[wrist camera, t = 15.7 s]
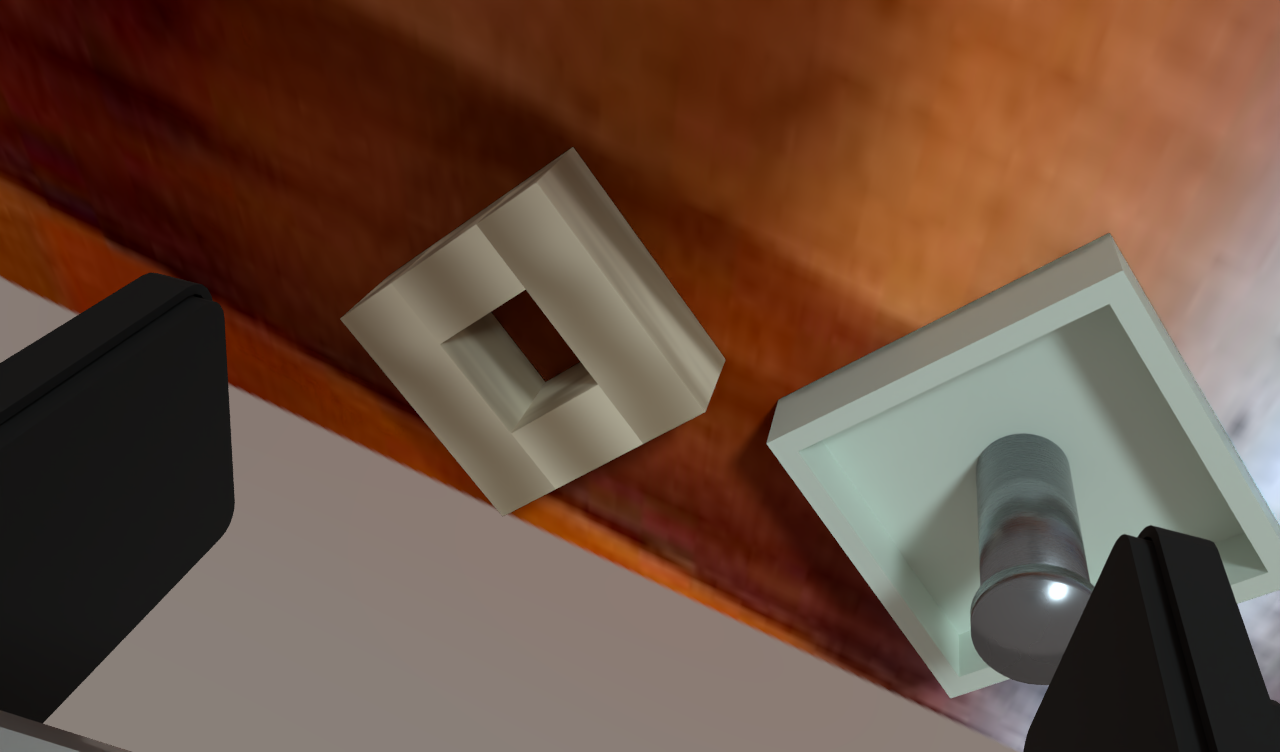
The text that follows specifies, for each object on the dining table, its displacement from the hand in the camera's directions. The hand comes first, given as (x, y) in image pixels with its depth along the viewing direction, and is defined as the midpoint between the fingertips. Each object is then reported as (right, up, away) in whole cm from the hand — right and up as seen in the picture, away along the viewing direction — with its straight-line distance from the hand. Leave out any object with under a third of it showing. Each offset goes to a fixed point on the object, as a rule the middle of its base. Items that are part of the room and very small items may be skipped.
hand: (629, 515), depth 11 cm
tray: (+17, -2, +39) cm, 43 cm away
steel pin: (+17, -3, +38) cm, 42 cm away
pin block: (-4, +4, +41) cm, 42 cm away
